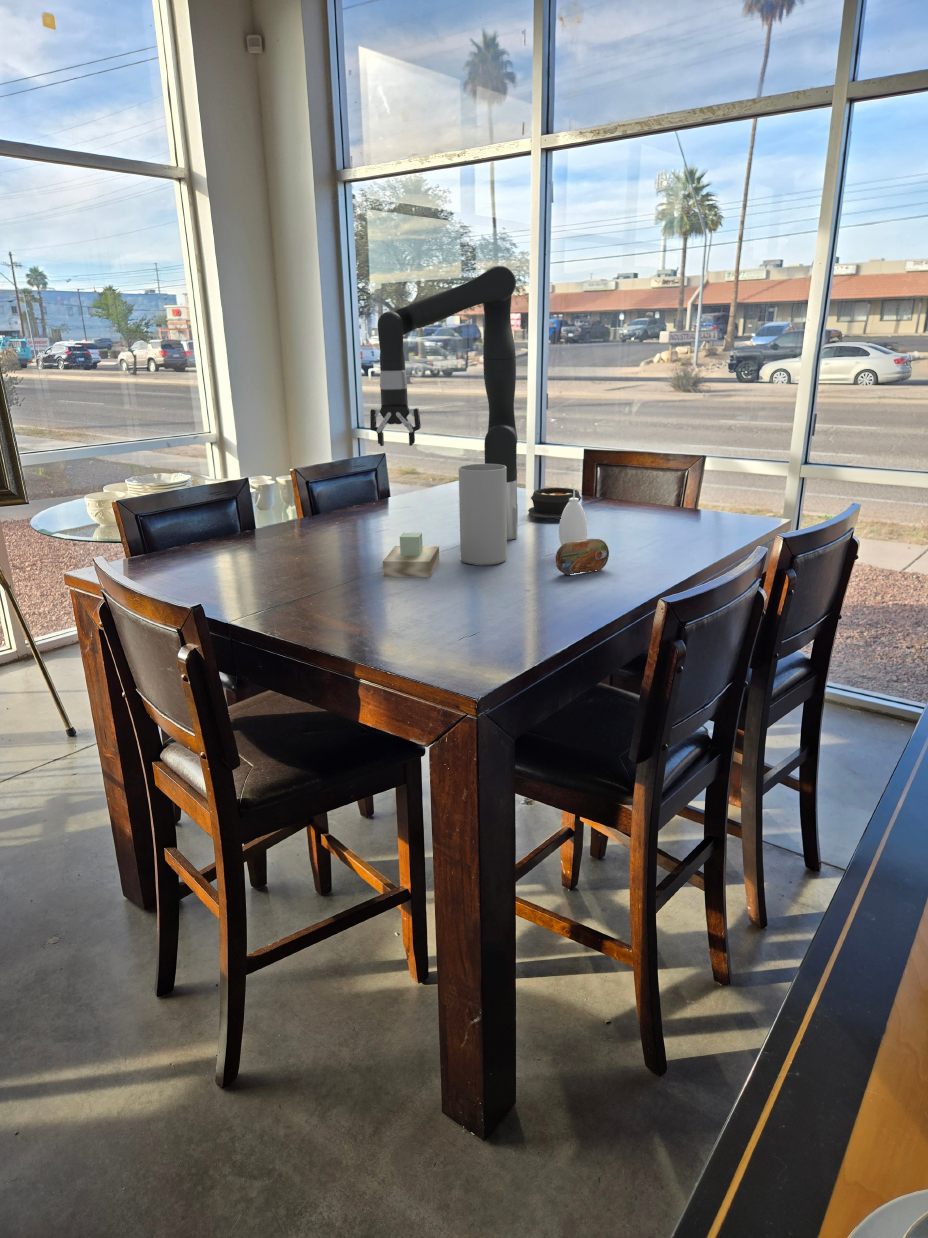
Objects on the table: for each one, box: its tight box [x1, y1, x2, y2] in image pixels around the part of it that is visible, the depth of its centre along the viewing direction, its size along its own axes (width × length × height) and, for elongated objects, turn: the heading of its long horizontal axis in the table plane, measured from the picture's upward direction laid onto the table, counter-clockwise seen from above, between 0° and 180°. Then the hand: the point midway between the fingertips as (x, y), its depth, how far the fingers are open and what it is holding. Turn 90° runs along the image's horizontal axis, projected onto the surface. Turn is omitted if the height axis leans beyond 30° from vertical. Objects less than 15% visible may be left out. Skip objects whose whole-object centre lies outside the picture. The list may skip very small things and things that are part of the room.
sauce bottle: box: [558, 488, 589, 546], centre depth 217 cm, size 8×8×18 cm
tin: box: [555, 538, 610, 576], centre depth 201 cm, size 15×3×8 cm, turn 117°
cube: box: [399, 532, 424, 556], centre depth 207 cm, size 5×5×5 cm
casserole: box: [527, 487, 582, 519], centre depth 267 cm, size 25×19×8 cm
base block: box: [382, 545, 440, 578], centre depth 208 cm, size 12×16×4 cm
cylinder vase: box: [458, 463, 508, 566], centre depth 211 cm, size 12×12×25 cm
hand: (396, 445), depth 230 cm, fingers open, 8 cm apart
